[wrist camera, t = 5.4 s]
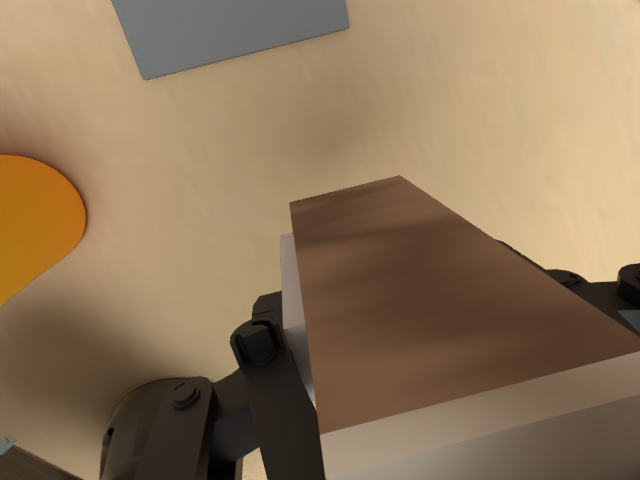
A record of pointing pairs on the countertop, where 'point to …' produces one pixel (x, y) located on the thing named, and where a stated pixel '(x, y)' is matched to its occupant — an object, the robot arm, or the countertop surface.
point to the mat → (219, 29)
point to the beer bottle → (34, 221)
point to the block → (454, 350)
